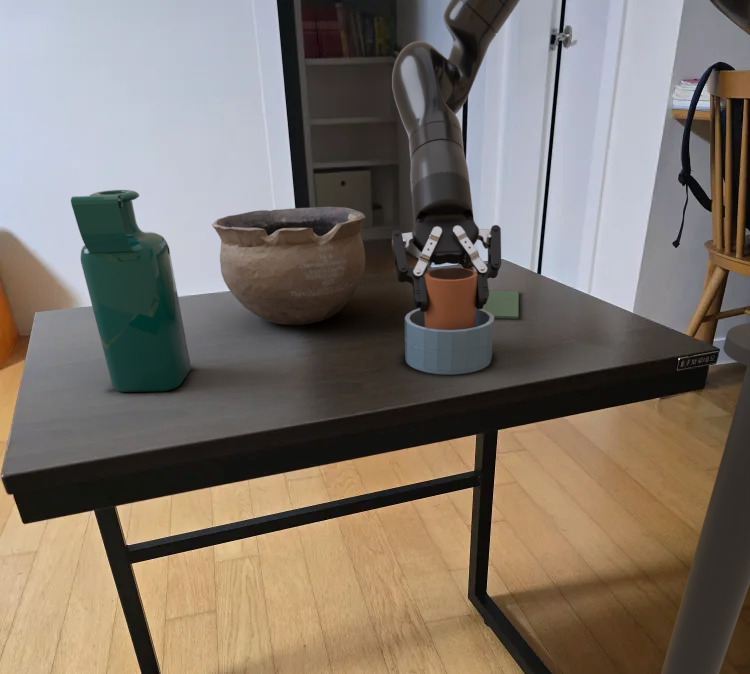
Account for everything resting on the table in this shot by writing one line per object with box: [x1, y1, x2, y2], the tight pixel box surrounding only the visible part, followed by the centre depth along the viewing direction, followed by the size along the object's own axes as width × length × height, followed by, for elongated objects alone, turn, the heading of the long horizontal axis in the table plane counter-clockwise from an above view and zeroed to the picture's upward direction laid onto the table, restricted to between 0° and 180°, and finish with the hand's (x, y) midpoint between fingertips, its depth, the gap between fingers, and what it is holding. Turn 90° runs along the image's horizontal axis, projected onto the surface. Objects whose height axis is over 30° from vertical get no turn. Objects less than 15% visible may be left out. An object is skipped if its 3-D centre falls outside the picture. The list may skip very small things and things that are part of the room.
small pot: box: [425, 267, 477, 330], centre depth 85 cm, size 6×6×10 cm
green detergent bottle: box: [70, 189, 192, 393], centre depth 78 cm, size 10×8×22 cm
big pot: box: [404, 307, 495, 376], centre depth 86 cm, size 11×11×6 cm
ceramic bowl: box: [211, 206, 366, 326], centre depth 101 cm, size 22×22×15 cm
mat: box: [483, 290, 520, 320], centre depth 108 cm, size 14×14×1 cm
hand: (452, 307), depth 82 cm, fingers closed on small pot, 6 cm apart
